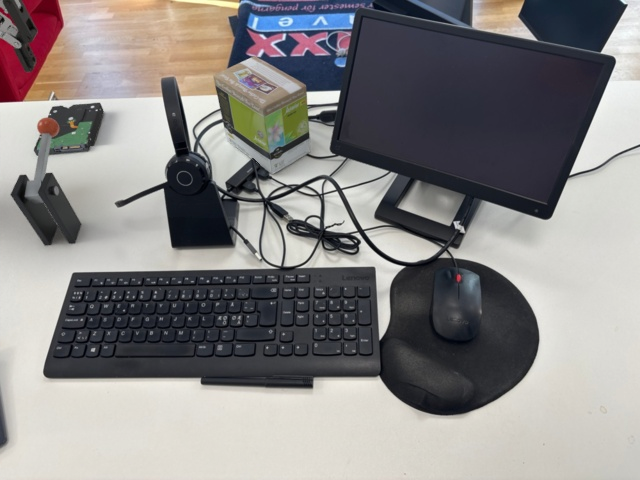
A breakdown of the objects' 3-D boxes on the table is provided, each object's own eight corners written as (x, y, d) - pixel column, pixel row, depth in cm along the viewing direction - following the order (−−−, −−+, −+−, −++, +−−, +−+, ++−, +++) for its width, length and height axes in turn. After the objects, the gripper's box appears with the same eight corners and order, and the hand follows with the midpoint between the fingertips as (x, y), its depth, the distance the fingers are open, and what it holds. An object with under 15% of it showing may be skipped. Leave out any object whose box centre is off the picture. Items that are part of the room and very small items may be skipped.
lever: (44, 126, 86) (34, 114, 83) (64, 124, 86) (54, 112, 83) (30, 205, 80) (19, 195, 77) (51, 204, 80) (40, 194, 77)
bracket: (50, 219, 90) (15, 163, 81) (96, 216, 91) (66, 159, 81) (33, 264, 84) (-8, 208, 74) (83, 260, 84) (48, 204, 74)
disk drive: (56, 117, 111) (38, 161, 101) (50, 106, 109) (32, 150, 99) (105, 112, 111) (92, 156, 102) (100, 101, 109) (86, 144, 99)
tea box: (312, 152, 100) (308, 84, 89) (272, 176, 96) (262, 108, 84) (264, 119, 107) (254, 52, 96) (225, 140, 103) (210, 74, 92)
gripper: (2, -68, 64) (58, 54, 76) (-114, -60, 64) (-40, 61, 76) (-20, -44, 59) (43, 82, 71) (-146, -36, 59) (-61, 90, 71)
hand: (0, 71), depth 74 cm, fingers open, 8 cm apart
